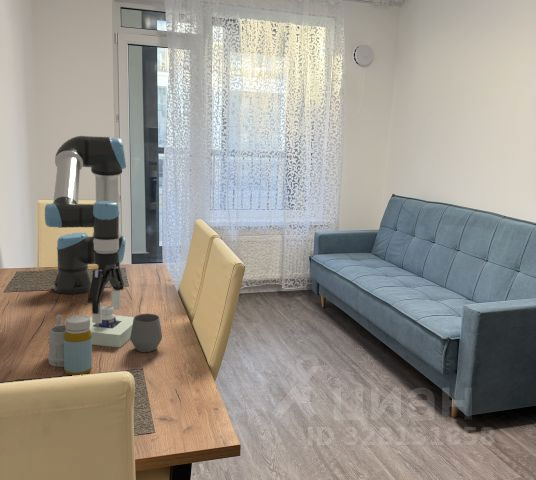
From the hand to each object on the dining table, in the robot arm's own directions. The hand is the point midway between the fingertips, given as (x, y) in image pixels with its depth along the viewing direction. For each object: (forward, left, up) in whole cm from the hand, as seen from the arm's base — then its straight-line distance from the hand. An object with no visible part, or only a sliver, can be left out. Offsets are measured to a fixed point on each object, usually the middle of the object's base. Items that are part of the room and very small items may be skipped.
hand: (107, 315), depth 161 cm
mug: (+20, -4, -7) cm, 21 cm away
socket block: (0, 0, -7) cm, 7 cm away
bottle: (+26, +4, -7) cm, 27 cm away
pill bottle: (0, 0, -7) cm, 7 cm away
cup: (+7, +16, -7) cm, 19 cm away
